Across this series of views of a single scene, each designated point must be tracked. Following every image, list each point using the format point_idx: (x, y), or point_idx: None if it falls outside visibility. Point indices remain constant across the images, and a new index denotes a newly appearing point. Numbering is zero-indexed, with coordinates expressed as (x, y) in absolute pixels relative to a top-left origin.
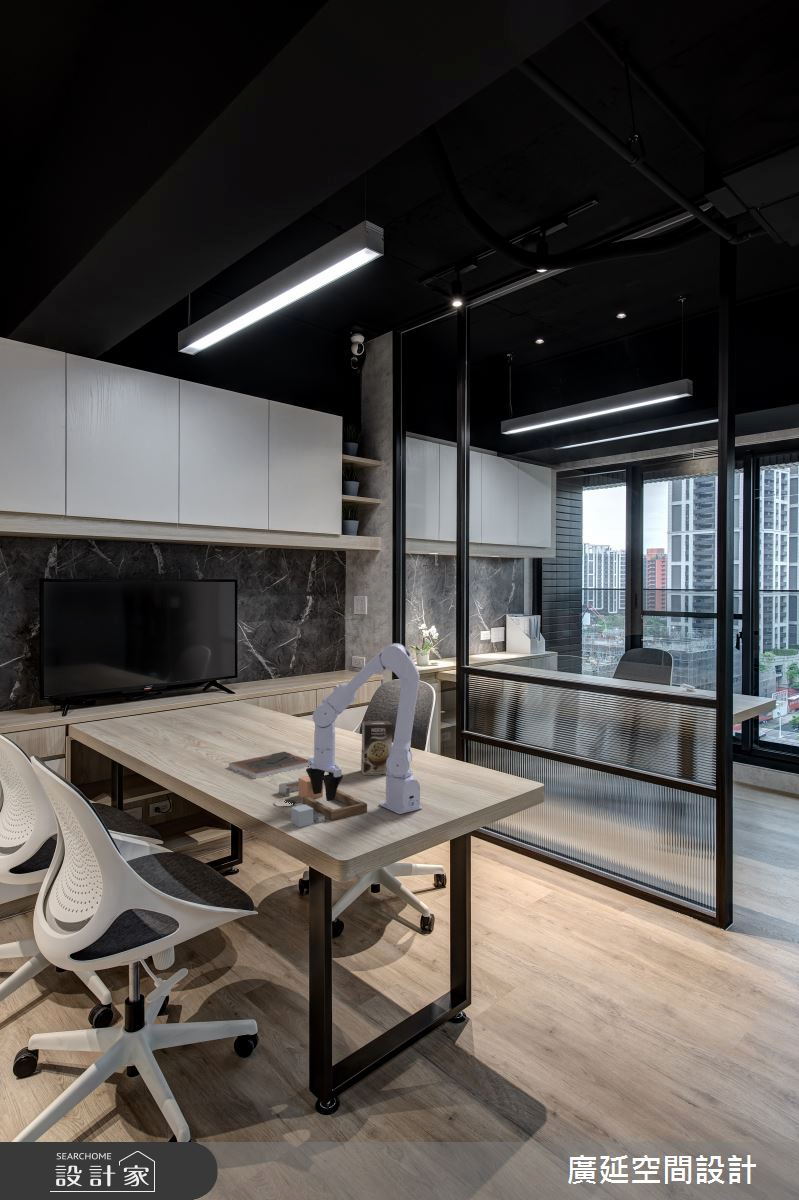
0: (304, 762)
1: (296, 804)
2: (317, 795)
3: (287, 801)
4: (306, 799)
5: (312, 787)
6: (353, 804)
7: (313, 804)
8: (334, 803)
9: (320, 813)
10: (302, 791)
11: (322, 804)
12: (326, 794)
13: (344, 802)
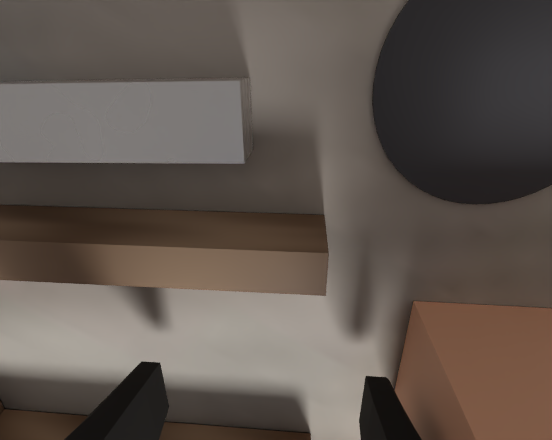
0: None
1: (225, 94)
2: (401, 390)
3: (517, 136)
4: (256, 245)
5: (407, 429)
6: (66, 436)
7: (113, 233)
8: (215, 388)
9: (19, 208)
10: (532, 345)
11: (2, 274)
12: (110, 406)
13: (177, 429)
